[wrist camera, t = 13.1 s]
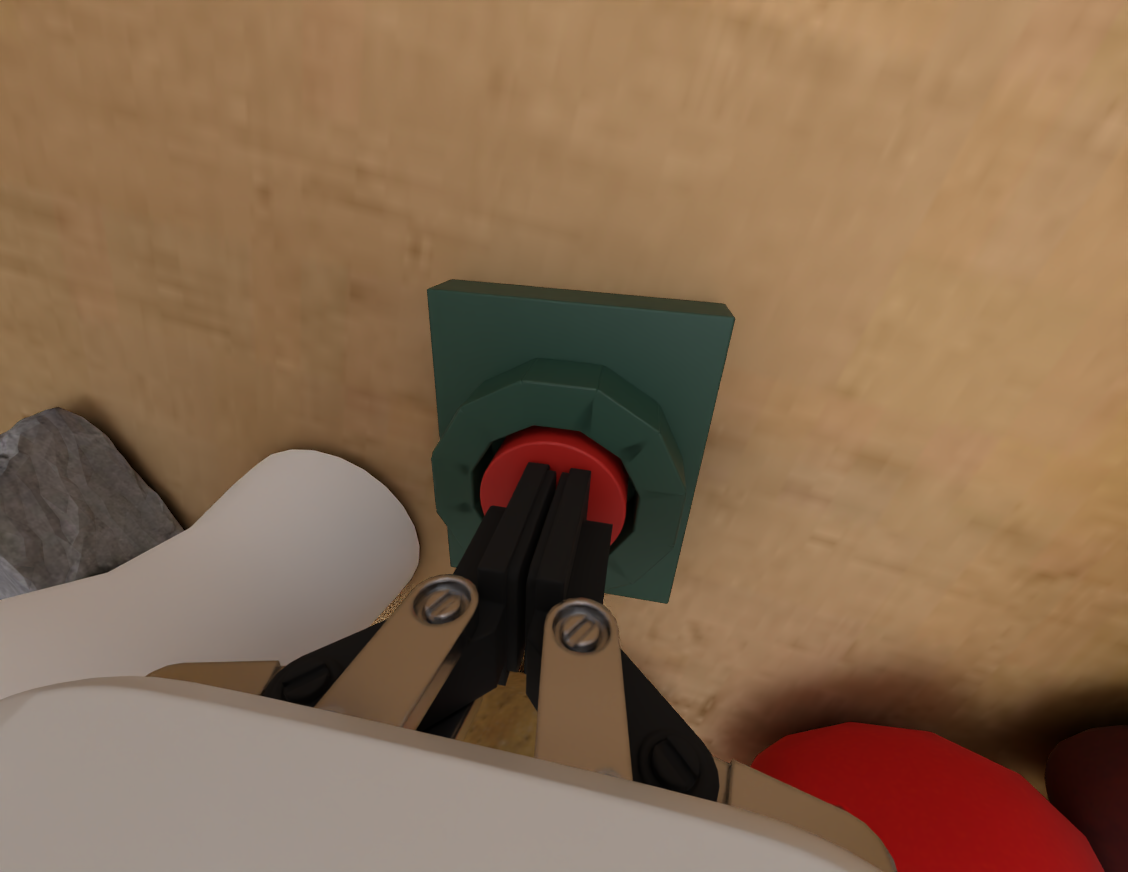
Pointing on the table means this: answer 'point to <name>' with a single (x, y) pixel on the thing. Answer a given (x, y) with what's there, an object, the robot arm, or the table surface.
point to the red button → (559, 470)
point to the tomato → (930, 800)
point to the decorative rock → (70, 505)
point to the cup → (226, 582)
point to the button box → (579, 402)
